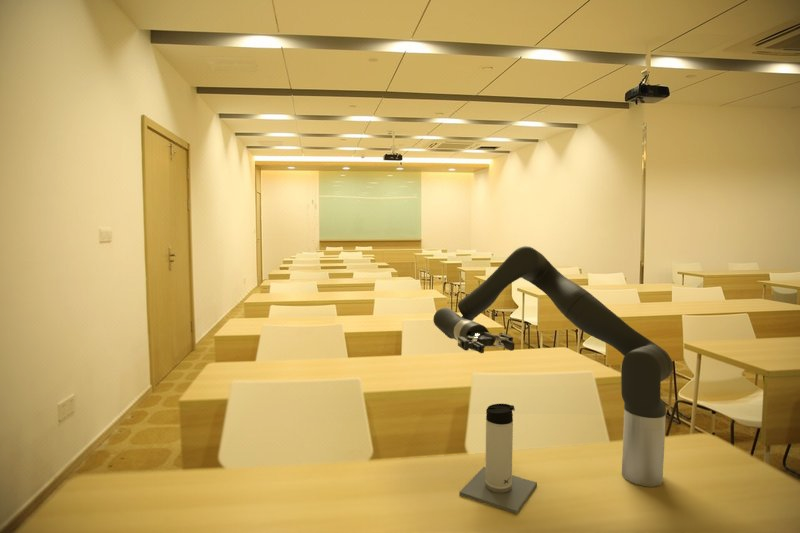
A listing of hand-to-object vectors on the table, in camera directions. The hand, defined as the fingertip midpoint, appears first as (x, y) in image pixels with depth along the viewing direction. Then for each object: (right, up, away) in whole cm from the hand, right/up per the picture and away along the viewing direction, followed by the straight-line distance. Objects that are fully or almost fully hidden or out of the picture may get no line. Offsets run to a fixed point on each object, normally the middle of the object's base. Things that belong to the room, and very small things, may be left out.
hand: (498, 348), depth 124 cm
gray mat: (-1, -33, -8) cm, 34 cm away
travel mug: (-1, -32, -8) cm, 33 cm away
